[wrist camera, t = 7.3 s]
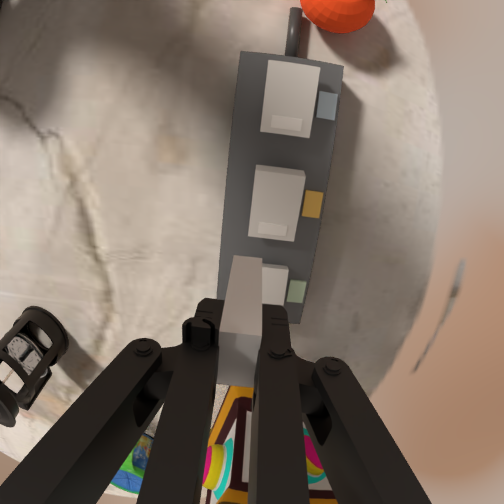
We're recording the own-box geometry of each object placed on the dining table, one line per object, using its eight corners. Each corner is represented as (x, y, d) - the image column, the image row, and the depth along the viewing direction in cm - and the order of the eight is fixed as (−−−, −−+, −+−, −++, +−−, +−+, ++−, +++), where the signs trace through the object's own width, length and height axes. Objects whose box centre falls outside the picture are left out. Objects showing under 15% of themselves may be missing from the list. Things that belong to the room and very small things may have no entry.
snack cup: (115, 409, 48) (96, 453, 38) (172, 428, 49) (160, 476, 39) (115, 448, 54) (101, 486, 44) (162, 464, 55) (153, 504, 45)
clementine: (368, -12, 24) (390, -37, 17) (376, 43, 26) (402, 27, 20) (293, -17, 24) (300, -47, 17) (299, 39, 27) (308, 19, 20)
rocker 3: (245, 261, 31) (244, 265, 29) (287, 265, 31) (288, 270, 29) (238, 319, 32) (237, 326, 30) (278, 323, 32) (279, 330, 30)
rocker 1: (268, 59, 23) (268, 59, 21) (317, 66, 23) (320, 67, 21) (260, 127, 26) (260, 132, 25) (307, 133, 26) (309, 138, 25)
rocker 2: (256, 164, 26) (255, 170, 25) (303, 170, 26) (305, 177, 25) (249, 227, 30) (247, 237, 28) (292, 232, 30) (293, 242, 28)
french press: (14, 298, 40) (-75, 391, 19) (57, 305, 40) (-35, 417, 19) (36, 357, 45) (-30, 451, 23) (78, 367, 44) (15, 477, 23)
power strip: (250, 7, 25) (248, -8, 21) (339, 20, 25) (349, 7, 21) (220, 295, 38) (215, 316, 34) (296, 304, 38) (300, 325, 34)
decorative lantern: (199, 431, 49) (170, 591, 21) (228, 351, 41) (194, 583, 13) (308, 451, 50) (317, 599, 22) (362, 380, 43) (409, 573, 15)
